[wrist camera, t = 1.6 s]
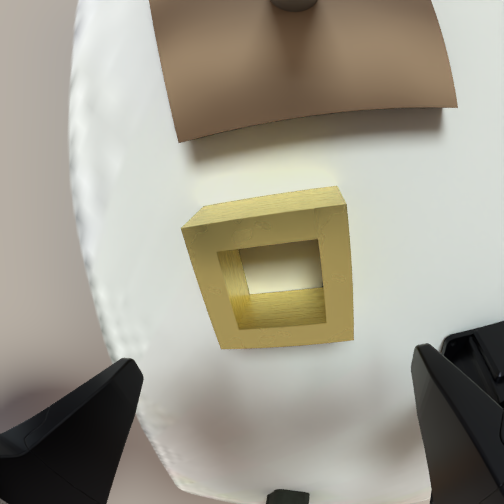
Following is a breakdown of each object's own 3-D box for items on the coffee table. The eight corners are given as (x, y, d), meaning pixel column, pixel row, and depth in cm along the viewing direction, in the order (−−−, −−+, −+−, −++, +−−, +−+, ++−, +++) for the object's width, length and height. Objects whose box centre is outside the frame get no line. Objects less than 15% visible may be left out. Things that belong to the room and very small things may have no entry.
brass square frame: (347, 303, 15) (353, 340, 13) (233, 313, 17) (221, 349, 14) (337, 185, 13) (346, 204, 10) (203, 206, 14) (180, 228, 12)
